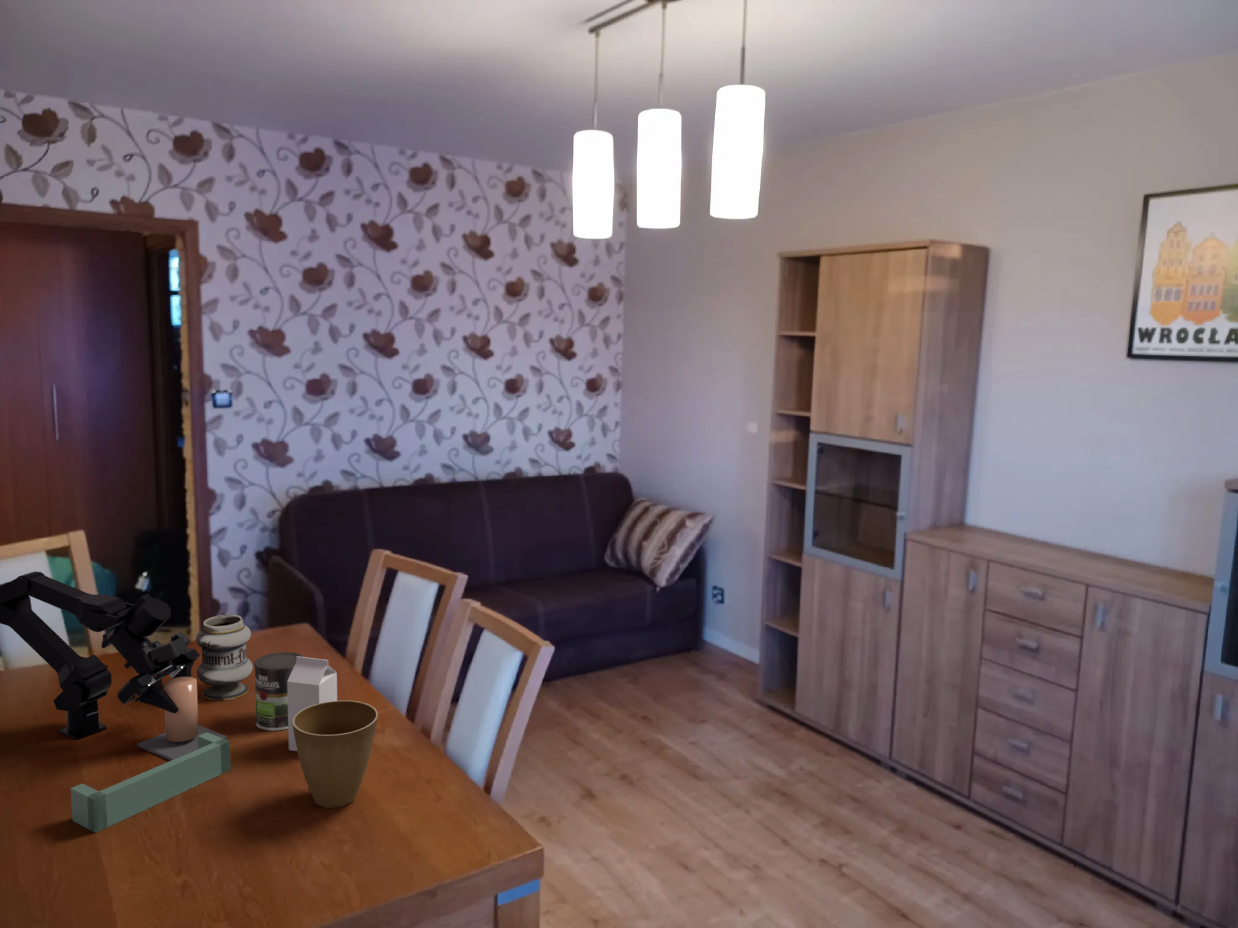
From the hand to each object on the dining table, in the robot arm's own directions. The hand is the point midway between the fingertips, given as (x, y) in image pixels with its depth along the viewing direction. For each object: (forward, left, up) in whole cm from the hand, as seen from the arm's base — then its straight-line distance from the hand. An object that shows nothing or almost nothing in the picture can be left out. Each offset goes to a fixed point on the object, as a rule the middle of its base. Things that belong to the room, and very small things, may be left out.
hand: (187, 705), depth 178 cm
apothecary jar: (-16, +21, -8) cm, 28 cm away
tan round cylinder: (-1, 0, -7) cm, 7 cm away
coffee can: (+7, +18, -8) cm, 21 cm away
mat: (-1, 0, -8) cm, 8 cm away
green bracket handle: (+13, -15, -8) cm, 22 cm away
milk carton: (+22, +14, -8) cm, 27 cm away
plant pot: (+42, +2, -8) cm, 43 cm away
